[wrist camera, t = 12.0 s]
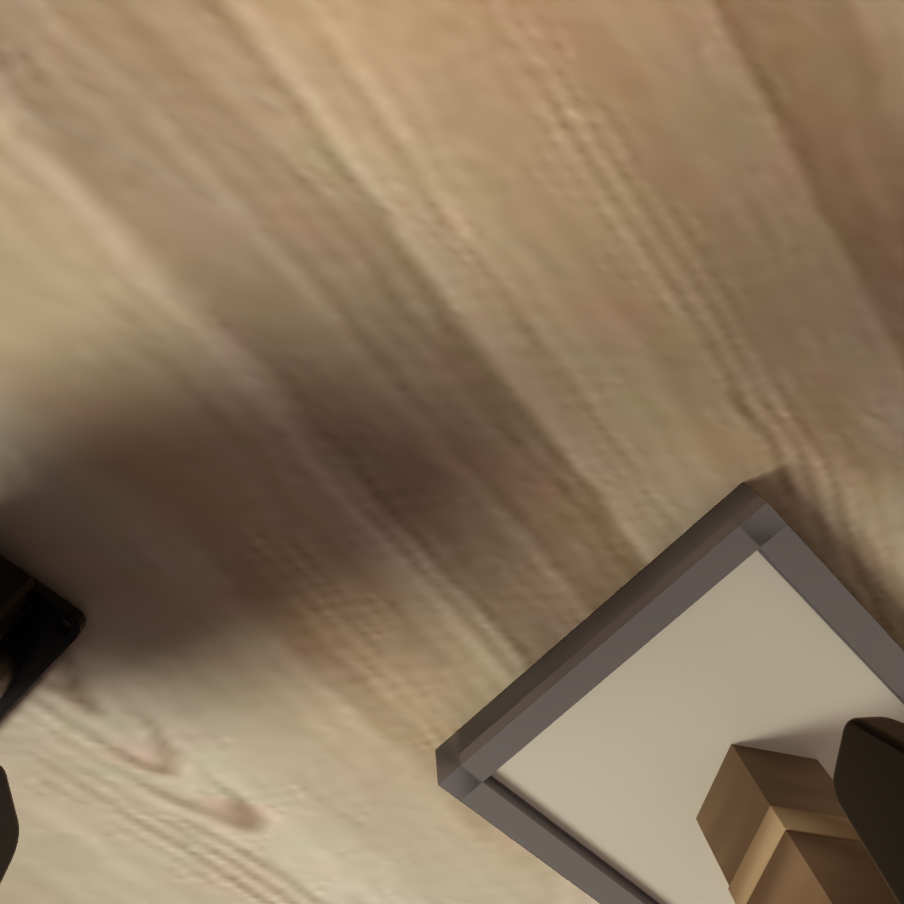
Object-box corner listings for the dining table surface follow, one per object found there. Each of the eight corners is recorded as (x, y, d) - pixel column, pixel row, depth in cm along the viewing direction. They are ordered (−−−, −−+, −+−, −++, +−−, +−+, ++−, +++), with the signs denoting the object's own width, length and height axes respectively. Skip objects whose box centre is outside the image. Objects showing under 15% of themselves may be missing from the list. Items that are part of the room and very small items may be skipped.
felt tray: (738, 978, 28) (756, 1018, 27) (435, 750, 23) (438, 784, 22) (1016, 780, 26) (1051, 813, 25) (742, 483, 21) (766, 502, 20)
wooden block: (693, 819, 24) (831, 1097, 16) (730, 742, 23) (893, 1000, 15) (779, 833, 25) (950, 1109, 17) (819, 758, 24) (1018, 1015, 16)
